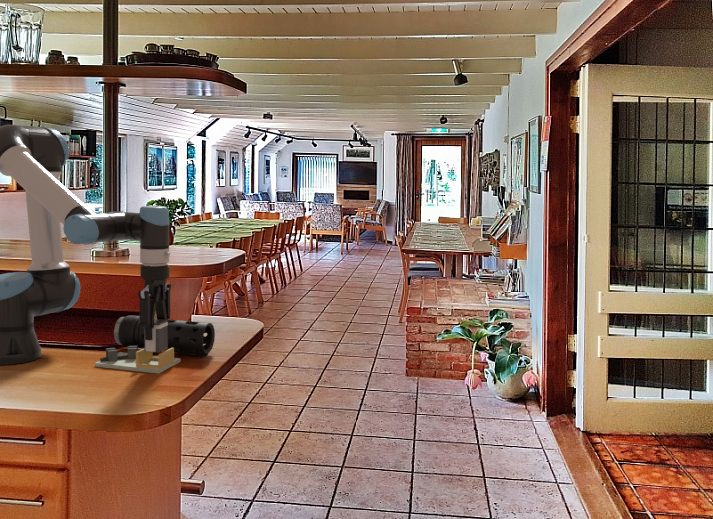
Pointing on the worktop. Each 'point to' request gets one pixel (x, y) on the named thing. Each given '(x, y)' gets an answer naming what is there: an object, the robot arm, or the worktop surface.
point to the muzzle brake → (180, 335)
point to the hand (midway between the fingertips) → (155, 348)
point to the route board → (130, 361)
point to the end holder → (154, 358)
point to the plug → (160, 335)
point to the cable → (118, 358)
